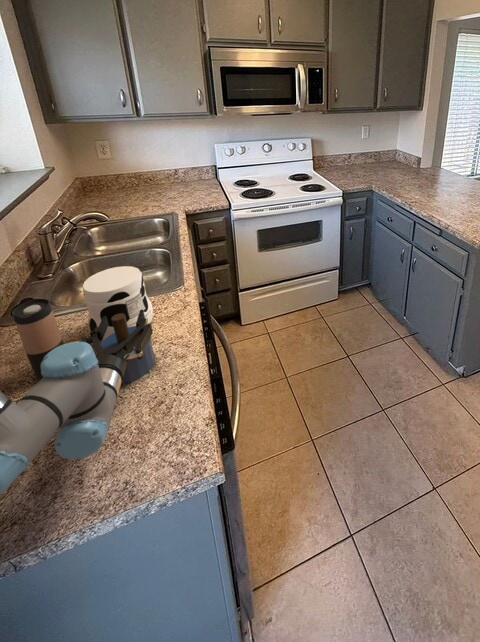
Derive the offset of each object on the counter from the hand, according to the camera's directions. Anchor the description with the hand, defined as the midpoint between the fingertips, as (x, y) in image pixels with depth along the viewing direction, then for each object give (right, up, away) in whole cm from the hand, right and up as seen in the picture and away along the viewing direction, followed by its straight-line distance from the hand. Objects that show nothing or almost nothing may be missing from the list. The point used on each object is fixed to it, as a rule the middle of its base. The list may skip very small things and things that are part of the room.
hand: (124, 317), depth 95 cm
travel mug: (-19, -14, 0) cm, 24 cm away
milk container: (-9, -9, +16) cm, 20 cm away
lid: (+2, -6, -3) cm, 7 cm away
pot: (+2, -14, 0) cm, 14 cm away
